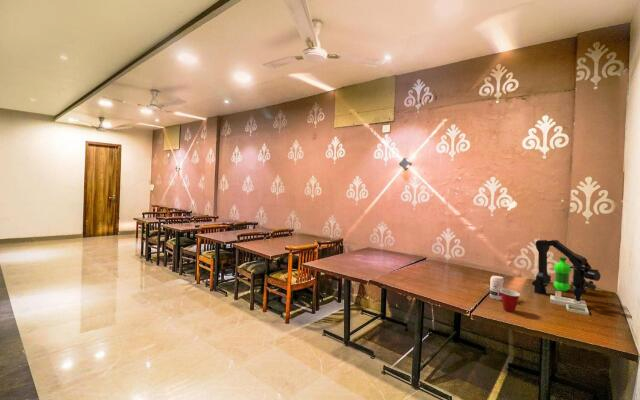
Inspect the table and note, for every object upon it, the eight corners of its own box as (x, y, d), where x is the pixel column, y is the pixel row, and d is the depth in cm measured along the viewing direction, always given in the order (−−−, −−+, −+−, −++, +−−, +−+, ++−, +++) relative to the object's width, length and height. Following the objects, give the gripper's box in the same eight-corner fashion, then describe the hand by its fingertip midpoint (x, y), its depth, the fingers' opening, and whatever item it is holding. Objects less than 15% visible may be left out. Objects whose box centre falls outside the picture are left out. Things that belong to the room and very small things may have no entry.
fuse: (555, 302, 202) (555, 291, 202) (554, 300, 205) (555, 290, 204) (560, 303, 200) (561, 292, 200) (560, 301, 203) (561, 291, 203)
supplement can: (501, 297, 213) (502, 276, 212) (504, 301, 205) (505, 279, 205) (488, 295, 216) (489, 274, 215) (491, 299, 208) (492, 278, 207)
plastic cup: (518, 315, 181) (519, 296, 181) (497, 310, 188) (498, 291, 188) (520, 310, 190) (521, 291, 189) (501, 306, 197) (501, 287, 196)
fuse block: (550, 304, 201) (550, 299, 201) (550, 300, 209) (550, 294, 209) (586, 311, 190) (586, 305, 190) (584, 306, 198) (584, 300, 198)
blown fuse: (574, 305, 196) (575, 295, 196) (574, 304, 199) (574, 293, 198) (580, 306, 194) (581, 296, 194) (580, 305, 197) (580, 294, 197)
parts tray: (567, 312, 188) (567, 308, 188) (566, 307, 196) (566, 303, 196) (588, 316, 182) (588, 312, 182) (586, 311, 190) (586, 307, 190)
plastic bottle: (568, 289, 232) (570, 257, 231) (571, 293, 223) (572, 259, 222) (552, 287, 237) (553, 255, 237) (553, 291, 229) (555, 258, 228)
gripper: (597, 282, 184) (596, 307, 184) (593, 275, 199) (592, 299, 199) (573, 278, 190) (572, 303, 191) (571, 272, 205) (570, 295, 206)
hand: (577, 300), depth 197 cm, fingers closed on blown fuse, 3 cm apart
